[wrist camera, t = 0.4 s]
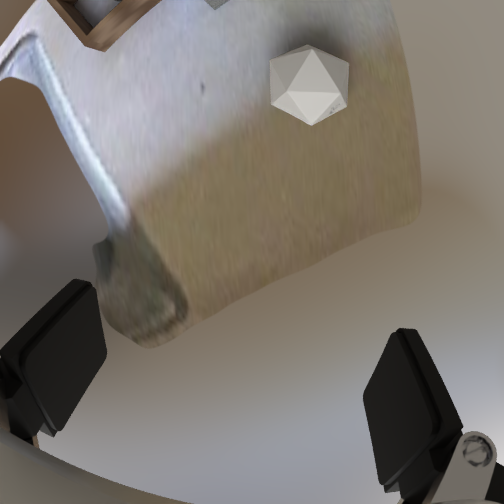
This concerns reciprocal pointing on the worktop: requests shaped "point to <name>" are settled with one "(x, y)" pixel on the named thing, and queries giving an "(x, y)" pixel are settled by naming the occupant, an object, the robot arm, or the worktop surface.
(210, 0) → the pad
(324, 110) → the die
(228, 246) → the worktop surface
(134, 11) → the cubby
